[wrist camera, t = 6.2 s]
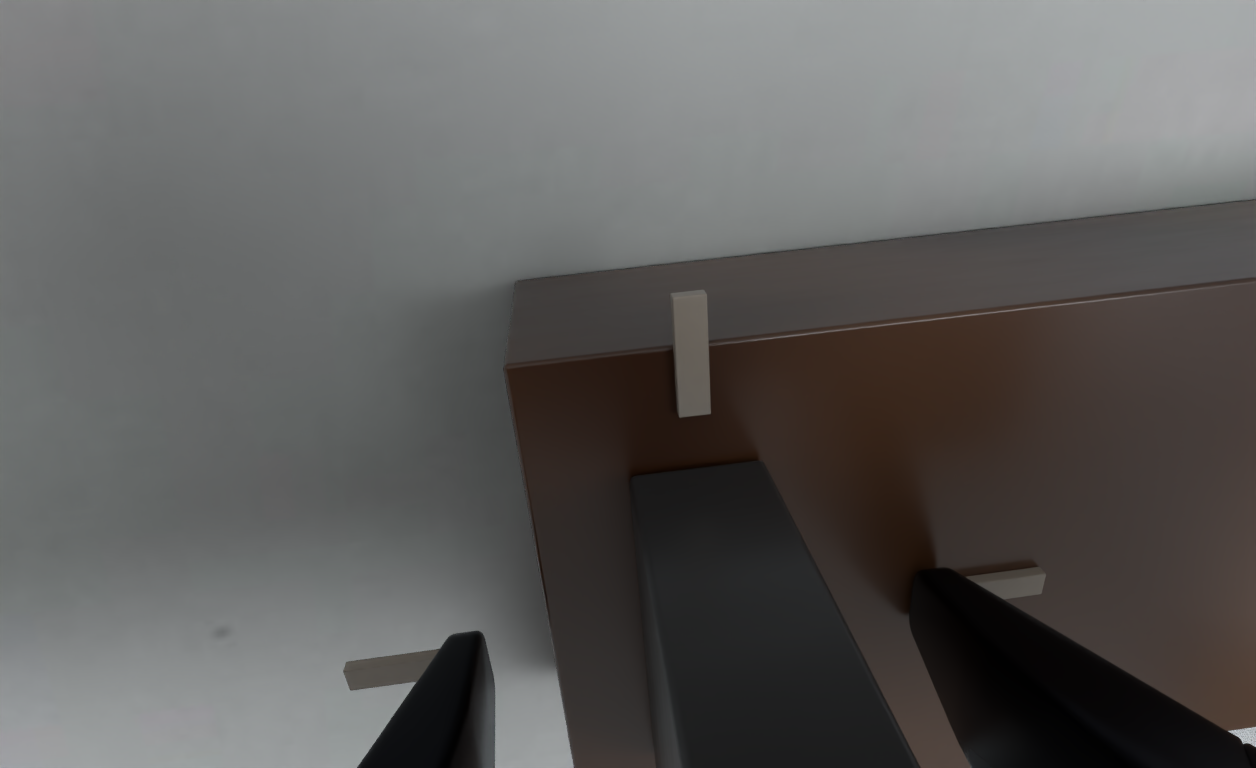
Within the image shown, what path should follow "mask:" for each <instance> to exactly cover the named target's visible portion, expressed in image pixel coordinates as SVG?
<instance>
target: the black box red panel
mask: <svg viewBox="0 0 1256 768" xmlns="http://www.w3.org/2000/svg"><path fill="white" fill-rule="evenodd" d="M629 487H630V498H631V508H632V519H633V530H634V540H635V551H636V561H637V572H638V583H639V593H640V604H641V614H642V625H643V636H644V646H645V657H646V668H647V678H648V689H649V699H650V710H651V721H652V731H653V742H654V752H655V762H656V768H921V767H920V765H919V763H918V761H917V759H916V757H915V756H914V754H913V752H912V750H911V748H910V746H909V744H908V742H907V740H906V738H905V736H904V734H903V732H902V730H901V728H900V726H899V724H898V722H897V720H896V719H895V717H894V715H893V713H892V711H891V709H890V707H889V705H888V703H887V701H886V699H885V697H884V695H883V693H882V691H881V689H880V687H879V685H878V683H877V681H876V680H875V678H874V676H873V674H872V672H871V670H870V668H869V666H868V664H867V662H866V660H865V658H864V656H863V654H862V652H861V650H860V648H859V646H858V644H857V643H856V641H855V639H854V637H853V635H852V633H851V631H850V629H849V627H848V625H847V623H846V621H845V619H844V617H843V615H842V613H841V611H840V609H839V607H838V606H837V604H836V602H835V600H834V598H833V596H832V594H831V592H830V590H829V588H828V586H827V584H826V582H825V580H824V578H823V576H822V574H821V572H820V570H819V568H818V567H817V565H816V563H815V561H814V559H813V557H812V555H811V553H810V551H809V549H808V547H807V545H806V543H805V541H804V539H803V537H802V535H801V533H800V531H799V530H798V528H797V526H796V524H795V522H794V520H793V518H792V516H791V514H790V512H789V510H788V508H787V506H786V504H785V502H784V500H783V498H782V496H781V494H780V492H779V491H778V489H777V487H776V485H775V483H774V481H773V479H772V477H771V475H770V473H769V471H768V469H767V467H766V465H765V463H764V462H762V461H758V460H757V461H749V462H740V463H732V464H724V465H716V466H708V467H700V468H692V469H684V470H676V471H668V472H660V473H652V474H644V475H636V476H633V477H632V478H631V480H630V483H629Z"/></svg>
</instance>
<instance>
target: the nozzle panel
mask: <svg viewBox="0 0 1256 768" xmlns="http://www.w3.org/2000/svg"><path fill="white" fill-rule="evenodd" d="M503 370H504V375H505V381H506V387H507V392H508V398H509V403H510V409H511V415H512V420H513V426H514V432H515V437H516V443H517V449H518V454H519V460H520V466H521V471H522V477H523V483H524V488H525V494H526V499H527V505H528V511H529V516H530V522H531V528H532V533H533V539H534V545H535V550H536V556H537V562H538V567H539V573H540V579H541V584H542V590H543V595H544V601H545V607H546V612H547V618H548V624H549V629H550V635H551V641H552V646H553V652H554V658H555V663H556V669H557V675H558V680H559V686H560V691H561V697H562V703H563V708H564V714H565V720H566V725H567V731H568V737H569V742H570V748H571V754H572V759H573V765H574V768H656V762H655V752H654V742H653V731H652V721H651V710H650V699H649V689H648V678H647V668H646V657H645V646H644V636H643V625H642V614H641V604H640V593H639V583H638V572H637V561H636V551H635V540H634V530H633V519H632V508H631V498H630V487H629V483H630V480H631V478H632V477H633V476H636V475H644V474H652V473H660V472H668V471H676V470H684V469H692V468H700V467H708V466H716V465H724V464H732V463H740V462H749V461H757V460H758V461H762V462H764V463H765V465H766V467H767V469H768V471H769V473H770V475H771V477H772V479H773V481H774V483H775V485H776V487H777V489H778V491H779V492H780V494H781V496H782V498H783V500H784V502H785V504H786V506H787V508H788V510H789V512H790V514H791V516H792V518H793V520H794V522H795V524H796V526H797V528H798V530H799V531H800V533H801V535H802V537H803V539H804V541H805V543H806V545H807V547H808V549H809V551H810V553H811V555H812V557H813V559H814V561H815V563H816V565H817V567H818V568H819V570H820V572H821V574H822V576H823V578H824V580H825V582H826V584H827V586H828V588H829V590H830V592H831V594H832V596H833V598H834V600H835V602H836V604H837V606H838V607H839V609H840V611H841V613H842V615H843V617H844V619H845V621H846V623H847V625H848V627H849V629H850V631H851V633H852V635H853V637H854V639H855V641H856V643H857V644H858V646H859V648H860V650H861V652H862V654H863V656H864V658H865V660H866V662H867V664H868V666H869V668H870V670H871V672H872V674H873V676H874V678H875V680H876V681H877V683H878V685H879V687H880V689H881V691H882V693H883V695H884V697H885V699H886V701H887V703H888V705H889V707H890V709H891V711H892V713H893V715H894V717H895V719H896V720H897V722H898V724H899V726H900V728H901V730H902V732H903V734H904V736H905V738H906V740H907V742H908V744H909V746H910V748H911V750H912V752H913V754H914V756H915V757H916V759H917V761H918V763H919V765H920V767H921V768H971V766H970V765H969V763H968V761H967V759H966V757H965V755H964V753H963V751H962V749H961V747H960V745H959V743H958V741H957V739H956V737H955V734H954V732H953V730H952V728H951V726H950V723H949V721H948V718H947V716H946V714H945V711H944V709H943V707H942V704H941V702H940V700H939V697H938V695H937V692H936V690H935V688H934V685H933V683H932V681H931V678H930V676H929V673H928V671H927V669H926V666H925V664H924V662H923V659H922V657H921V654H920V652H919V650H918V647H917V645H916V643H915V640H914V638H913V635H912V633H911V629H910V624H909V611H910V603H911V595H912V588H913V580H914V576H915V574H916V573H917V572H918V571H920V570H924V569H932V568H939V567H947V568H950V569H952V570H954V571H956V572H958V573H960V574H961V575H963V576H965V577H966V578H968V579H970V580H971V581H973V582H975V583H977V584H978V585H980V586H982V587H983V588H985V589H987V590H988V591H990V592H992V593H994V594H995V595H997V596H999V597H1000V598H1002V599H1004V600H1005V601H1007V602H1009V603H1011V604H1012V605H1014V606H1016V607H1017V608H1019V609H1021V610H1022V611H1024V612H1026V613H1028V614H1029V615H1031V616H1033V617H1034V618H1036V619H1038V620H1039V621H1041V622H1043V623H1045V624H1046V625H1048V626H1050V627H1051V628H1053V629H1055V630H1056V631H1058V632H1060V633H1062V634H1063V635H1065V636H1067V637H1068V638H1070V639H1072V640H1073V641H1075V642H1077V643H1079V644H1080V645H1082V646H1084V647H1085V648H1087V649H1089V650H1090V651H1092V652H1094V653H1096V654H1097V655H1099V656H1101V657H1102V658H1104V659H1106V660H1107V661H1109V662H1111V663H1113V664H1114V665H1116V666H1118V667H1119V668H1121V669H1123V670H1124V671H1126V672H1128V673H1130V674H1131V675H1133V676H1135V677H1136V678H1138V679H1140V680H1141V681H1143V682H1145V683H1147V684H1148V685H1150V686H1152V687H1153V688H1155V689H1157V690H1158V691H1160V692H1162V693H1164V694H1165V695H1167V696H1169V697H1170V698H1172V699H1174V700H1175V701H1177V702H1179V703H1181V704H1182V705H1184V706H1186V707H1187V708H1189V709H1191V710H1192V711H1194V712H1196V713H1198V714H1199V715H1201V716H1203V717H1204V718H1206V719H1208V720H1209V721H1211V722H1213V723H1215V724H1216V725H1218V726H1220V727H1221V728H1223V729H1225V730H1226V731H1231V730H1238V729H1244V728H1251V727H1256V200H1250V201H1241V202H1232V203H1222V204H1213V205H1204V206H1195V207H1186V208H1177V209H1168V210H1159V211H1150V212H1140V213H1131V214H1122V215H1113V216H1104V217H1095V218H1086V219H1077V220H1068V221H1058V222H1049V223H1040V224H1031V225H1022V226H1013V227H1004V228H995V229H986V230H976V231H967V232H958V233H949V234H940V235H931V236H922V237H913V238H904V239H895V240H885V241H876V242H867V243H858V244H849V245H840V246H831V247H822V248H813V249H803V250H794V251H785V252H776V253H767V254H758V255H749V256H740V257H731V258H721V259H712V260H703V261H694V262H685V263H676V264H667V265H658V266H649V267H639V268H630V269H621V270H612V271H603V272H594V273H585V274H576V275H567V276H557V277H548V278H539V279H530V280H521V281H517V282H516V283H515V288H514V295H513V302H512V310H511V317H510V324H509V331H508V339H507V346H506V353H505V360H504V367H503ZM439 650H440V649H436V650H429V651H422V652H414V653H407V654H400V655H392V656H385V657H378V658H371V659H363V660H356V661H349V662H346V664H345V667H344V670H343V672H344V675H345V677H346V680H347V683H348V686H349V688H350V690H358V689H366V688H373V687H380V686H387V685H394V684H401V683H409V682H416V681H418V680H419V678H420V677H421V675H422V674H423V672H424V671H425V670H426V668H427V667H428V665H429V664H430V662H431V661H432V660H433V658H434V657H435V655H436V654H437V652H438V651H439Z"/></svg>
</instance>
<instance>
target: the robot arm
mask: <svg viewBox="0 0 1256 768" xmlns="http://www.w3.org/2000/svg"><path fill="white" fill-rule="evenodd" d="M909 624H910V629H911V633H912V635H913V638H914V640H915V643H916V645H917V647H918V650H919V652H920V654H921V657H922V659H923V662H924V664H925V666H926V669H927V671H928V673H929V676H930V678H931V681H932V683H933V685H934V688H935V690H936V692H937V695H938V697H939V700H940V702H941V704H942V707H943V709H944V711H945V714H946V716H947V718H948V721H949V723H950V726H951V728H952V730H953V732H954V734H955V737H956V739H957V741H958V743H959V745H960V747H961V749H962V751H963V753H964V755H965V757H966V759H967V761H968V763H969V765H970V766H971V768H1256V747H1254V746H1252V745H1251V744H1248V743H1246V744H1243V743H1242V741H1241V740H1240V738H1238V737H1237V736H1235V735H1233V734H1232V733H1230V732H1228V731H1226V730H1225V729H1223V728H1221V727H1220V726H1218V725H1216V724H1215V723H1213V722H1211V721H1209V720H1208V719H1206V718H1204V717H1203V716H1201V715H1199V714H1198V713H1196V712H1194V711H1192V710H1191V709H1189V708H1187V707H1186V706H1184V705H1182V704H1181V703H1179V702H1177V701H1175V700H1174V699H1172V698H1170V697H1169V696H1167V695H1165V694H1164V693H1162V692H1160V691H1158V690H1157V689H1155V688H1153V687H1152V686H1150V685H1148V684H1147V683H1145V682H1143V681H1141V680H1140V679H1138V678H1136V677H1135V676H1133V675H1131V674H1130V673H1128V672H1126V671H1124V670H1123V669H1121V668H1119V667H1118V666H1116V665H1114V664H1113V663H1111V662H1109V661H1107V660H1106V659H1104V658H1102V657H1101V656H1099V655H1097V654H1096V653H1094V652H1092V651H1090V650H1089V649H1087V648H1085V647H1084V646H1082V645H1080V644H1079V643H1077V642H1075V641H1073V640H1072V639H1070V638H1068V637H1067V636H1065V635H1063V634H1062V633H1060V632H1058V631H1056V630H1055V629H1053V628H1051V627H1050V626H1048V625H1046V624H1045V623H1043V622H1041V621H1039V620H1038V619H1036V618H1034V617H1033V616H1031V615H1029V614H1028V613H1026V612H1024V611H1022V610H1021V609H1019V608H1017V607H1016V606H1014V605H1012V604H1011V603H1009V602H1007V601H1005V600H1004V599H1002V598H1000V597H999V596H997V595H995V594H994V593H992V592H990V591H988V590H987V589H985V588H983V587H982V586H980V585H978V584H977V583H975V582H973V581H971V580H970V579H968V578H966V577H965V576H963V575H961V574H960V573H958V572H956V571H954V570H952V569H950V568H947V567H939V568H932V569H924V570H920V571H918V572H917V573H916V574H915V576H914V580H913V588H912V595H911V603H910V611H909ZM357 768H495V683H494V676H493V671H492V667H491V662H490V658H489V654H488V649H487V645H486V641H485V637H484V635H483V633H482V632H480V631H471V632H464V633H457V634H453V635H451V636H449V637H448V638H447V640H446V641H445V642H444V644H443V645H442V647H441V648H440V650H439V651H438V652H437V654H436V655H435V657H434V658H433V660H432V661H431V662H430V664H429V665H428V667H427V668H426V670H425V671H424V672H423V674H422V675H421V677H420V678H419V680H418V681H417V683H416V684H415V685H414V687H413V688H412V690H411V691H410V693H409V694H408V695H407V697H406V698H405V700H404V701H403V703H402V704H401V706H400V707H399V708H398V710H397V711H396V713H395V714H394V716H393V717H392V718H391V720H390V721H389V723H388V724H387V726H386V727H385V729H384V730H383V731H382V733H381V734H380V736H379V737H378V739H377V740H376V741H375V743H374V744H373V746H372V747H371V749H370V750H369V752H368V753H367V754H366V756H365V757H364V759H363V760H362V762H361V763H360V764H359V766H358V767H357Z"/></svg>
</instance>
